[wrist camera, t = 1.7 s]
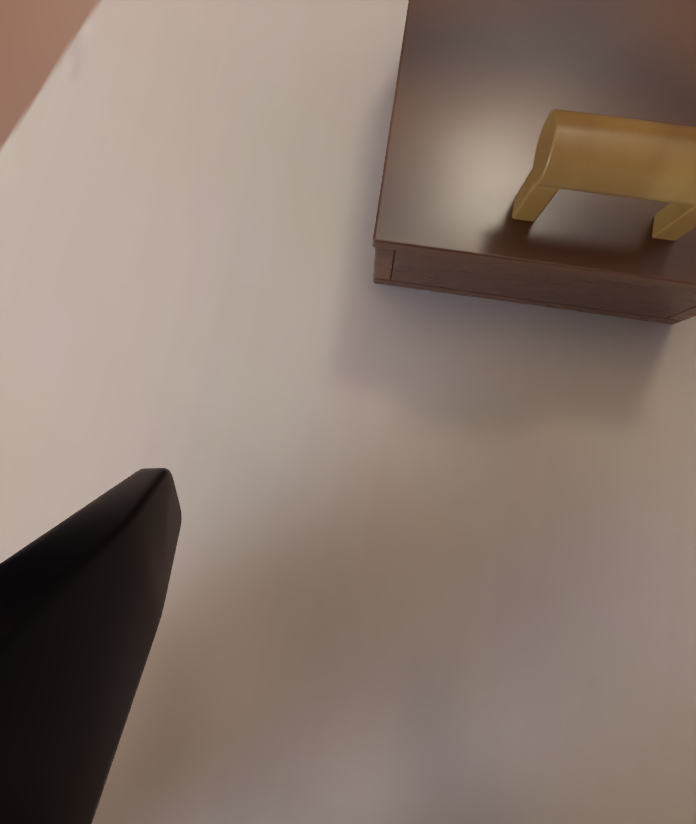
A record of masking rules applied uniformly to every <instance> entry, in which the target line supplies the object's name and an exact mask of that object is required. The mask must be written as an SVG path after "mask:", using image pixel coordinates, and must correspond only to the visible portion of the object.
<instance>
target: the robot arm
mask: <svg viewBox="0 0 696 824" xmlns="http://www.w3.org/2000/svg"><path fill="white" fill-rule="evenodd" d="M180 527H181V509H180V505H179V501H178V497H177V493H176V489H175V484H174V480H173V477H172V474H171V472H170V471H169V470H168V469H166V468H147V469H140V470H139V471H137V472H135V473H134V474H133V475H131V476H130V477H128V478H127V479H125V480H124V481H122V482H121V483H119V484H118V485H116V486H115V487H113V488H112V489H110V490H109V491H107V492H106V493H104V494H103V495H101V496H100V497H98V498H97V499H96V500H94V501H93V502H91V503H90V504H88V505H87V506H85V507H84V508H82V509H81V510H79V511H78V512H76V513H75V514H73V515H72V516H70V517H69V518H67V519H66V520H64V521H63V522H61V523H60V524H58V525H57V526H56V527H54V528H53V529H51V530H50V531H48V532H47V533H45V534H44V535H42V536H41V537H39V538H38V539H36V540H35V541H33V542H32V543H30V544H29V545H27V546H26V547H24V548H23V549H21V550H20V551H18V552H17V553H15V554H14V555H13V556H11V557H10V558H8V559H7V560H5V561H4V562H2V563H1V564H0V824H92V821H93V818H94V815H95V812H96V809H97V806H98V803H99V800H100V797H101V794H102V791H103V788H104V785H105V782H106V779H107V776H108V773H109V770H110V767H111V764H112V761H113V758H114V755H115V752H116V750H117V747H118V744H119V741H120V738H121V735H122V732H123V729H124V726H125V723H126V720H127V717H128V714H129V711H130V708H131V705H132V702H133V699H134V696H135V693H136V690H137V687H138V684H139V681H140V678H141V675H142V672H143V670H144V667H145V664H146V661H147V658H148V655H149V652H150V649H151V646H152V643H153V640H154V637H155V634H156V631H157V628H158V624H159V621H160V618H161V615H162V610H163V606H164V602H165V598H166V593H167V588H168V583H169V579H170V574H171V569H172V565H173V560H174V555H175V551H176V546H177V541H178V536H179V532H180Z"/></svg>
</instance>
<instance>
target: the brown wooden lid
mask: <svg viewBox="0 0 696 824" xmlns="http://www.w3.org/2000/svg"><path fill="white" fill-rule="evenodd" d="M373 247H375V248H382V249H389V250H397V251H404V252H412V253H419V254H426V255H434V256H441V257H448V258H456V259H463V260H470V261H478V262H485V263H492V264H500V265H507V266H514V267H522V268H529V269H536V270H544V271H551V272H558V273H566V274H573V275H580V276H588V277H595V278H603V279H610V280H617V281H625V282H632V283H639V284H647V285H654V286H661V287H669V288H676V289H683V290H691V291H696V0H409V3H408V10H407V16H406V23H405V30H404V36H403V43H402V50H401V56H400V63H399V70H398V76H397V83H396V90H395V96H394V103H393V110H392V116H391V123H390V130H389V136H388V143H387V150H386V156H385V163H384V170H383V176H382V183H381V190H380V196H379V203H378V210H377V216H376V223H375V230H374V236H373Z"/></svg>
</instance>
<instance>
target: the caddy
mask: <svg viewBox="0 0 696 824" xmlns="http://www.w3.org/2000/svg"><path fill="white" fill-rule="evenodd" d="M373 281H374V283H379V284H386V285H393V286H401V287H408V288H415V289H422V290H429V291H437V292H444V293H451V294H458V295H466V296H473V297H480V298H487V299H494V300H502V301H509V302H516V303H523V304H530V305H538V306H545V307H552V308H559V309H567V310H574V311H581V312H588V313H595V314H603V315H610V316H617V317H624V318H632V319H639V320H646V321H653V322H660V323H668V324H675V323H678V322H681V321H682V320H686V319H688V318H691V317H694V316H696V291H691V290H683V289H676V288H669V287H661V286H654V285H647V284H639V283H632V282H625V281H617V280H610V279H603V278H595V277H588V276H580V275H573V274H566V273H558V272H551V271H544V270H536V269H529V268H522V267H514V266H507V265H500V264H492V263H485V262H478V261H470V260H463V259H456V258H448V257H441V256H434V255H426V254H419V253H412V252H404V251H397V250H389V249H382V248H375V261H374V279H373Z"/></svg>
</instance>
